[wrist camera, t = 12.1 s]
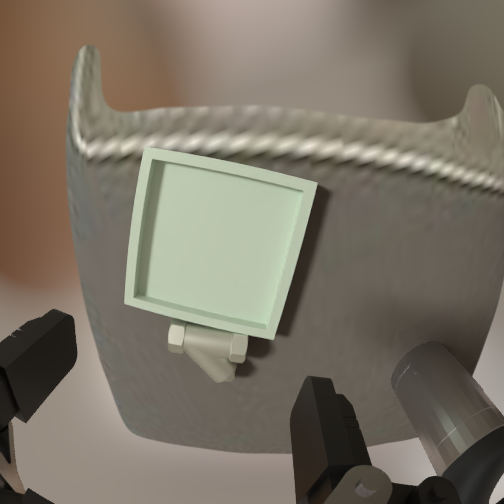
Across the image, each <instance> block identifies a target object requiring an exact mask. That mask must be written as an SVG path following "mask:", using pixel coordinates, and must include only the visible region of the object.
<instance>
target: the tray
mask: <svg viewBox="0 0 504 504" xmlns="http://www.w3.org/2000/svg"><path fill="white" fill-rule="evenodd" d="M317 184H318V183H316V182H313V181H309V180H305V179H301V178H297V177H294V176H290V175H286V174H282V173H277V172H273V171H269V170H265V169H261V168H256V167H252V166H247V165H243V164H238V163H233V162H229V161H224V160H219V159H214V158H208V157H203V156H198V155H192V154H186V153H181V152H175V151H169V150H162V149H156V148H149V147H144V152H143V157H142V162H141V167H140V172H139V178H138V183H137V189H136V196H135V202H134V209H133V216H132V223H131V231H130V240H129V249H128V259H127V271H126V285H125V303H124V304H127V305H131V306H134V307H137V308H141V309H144V310H148V311H151V312H155V313H159V314H162V315H166V316H170V317H173V318H177V319H181V320H185V321H189V322H193V323H197V324H201V325H205V326H210V327H214V328H218V329H223V330H227V331H232V332H236V333H241V334H246V335H251V336H256V337H261V338H266V339H271V340H274V337H275V334H276V330H277V327H278V324H279V321H280V318H281V314H282V311H283V308H284V304H285V301H286V298H287V294H288V291H289V287H290V284H291V281H292V277H293V274H294V270H295V267H296V263H297V260H298V256H299V252H300V249H301V245H302V241H303V238H304V234H305V230H306V227H307V223H308V219H309V215H310V211H311V208H312V204H313V200H314V196H315V192H316V188H317Z"/></svg>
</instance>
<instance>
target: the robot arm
mask: <svg viewBox="0 0 504 504" xmlns="http://www.w3.org/2000/svg"><path fill="white" fill-rule="evenodd" d="M76 359H77V344H76V335H75V323H74V319H73V317H72V316H71V315H69V314H66V313H63V312H61V311H59V310H56V309H52V310H50V311H49V312H48V313H46V314H45V315H44V316H42V317H39V318H36V319H33V320H31V321H28V322H27V323H25V324H24V325H22V326H21V327H20V328H19V329H18V330H16V331H15V332H13V333H12V334H11V336H10V335H9V336H8V337H7V338H6V339H4V340H3V341H1V342H0V504H54V503H52V502H51V501H49V500H47V499H45V498H44V497H42V496H40V495H39V494H37V493H36V492H34V491H32V490H31V489H29V488H28V489H27V491H26V492H25V489H24V486H23V484H22V482H21V480H20V477H19V475H18V472H17V466H16V459H15V449H14V438H13V425H12V422H11V420H12V419H13V417H14V416H15V417H17V418H18V419H20V420H21V421H23V422H25V423H27V421H28V420H29V419H30V418H31V416H32V415H33V414H34V413H35V412H36V410H37V409H38V408H39V406H40V405H41V404H42V403H43V402H44V401H45V399H46V398H47V397H48V396H49V394H50V393H51V392H52V391H53V390H54V389H55V387H56V386H57V385H58V384H59V383H60V381H61V380H62V379H63V378H64V377H65V376H66V375H67V374H68V372H69V371H70V370H71V369H72V368H73V366H74V364H75V362H76ZM391 385H392V388H393V390H394V392H395V393H396V395H397V397H398V399H399V401H400V403H401V405H402V407H403V409H404V411H405V412H406V414H407V416H408V418H409V420H410V422H411V424H412V426H413V428H414V430H415V432H416V433H417V435H418V437H419V439H420V441H421V443H422V445H423V447H424V449H425V451H426V453H427V455H428V457H429V460H430V462H431V463H432V466H433V468H434V470H435V471H436V474H437V476H432V477H428V478H426V479H425V480H424V481H423V482H422V483H421V484H419V485H418V486H413V485H404V484H398V483H393V482H391V480H390V478H389V477H388V475H387V474H386V473H385V472H383V471H382V470H381V469H379V468H376V467H374V466H372V464H371V461H370V458H369V454H368V451H367V448H366V445H365V442H364V439H363V436H362V433H361V430H360V429H359V424H358V421H357V419H356V415H355V412H354V409H353V406H352V404H351V403H350V402H349V401H348V400H347V399H346V397H345V396H344V395H343V394H336V392H335V389H334V386H333V382H332V380H331V379H330V378H323V377H315V376H307V377H306V379H305V381H304V383H303V385H302V388H301V390H300V392H299V395H298V397H297V399H296V402H295V404H294V406H293V409H292V412H291V417H290V431H291V443H292V454H293V467H294V479H295V493H296V504H489V499H490V496H491V494H492V492H493V490H494V488H495V486H496V484H497V482H498V481H499V479H500V478H501V476H502V475H503V473H504V416H503V415H502V414H501V412H500V411H499V410H498V409H497V408H496V406H495V405H494V404H493V403H492V401H491V400H490V399H489V398H488V397H487V396H486V394H485V393H484V391H483V389H482V388H481V386H480V385H479V384H478V383H477V382H476V380H475V379H474V378H473V377H472V376H471V375H470V374H469V372H468V371H467V370H466V369H465V368H464V367H463V366H462V364H461V363H460V362H459V361H458V360H457V359H456V358H455V357H454V356H453V354H452V353H450V352H449V351H448V350H447V349H446V348H445V347H444V346H443V345H442V344H440V343H438V342H428V343H424V344H421V345H419V346H417V347H416V348H414V349H413V350H411V351H410V352H408V353H407V354H406V355H405V356H404V357H403V358H402V359H401V360H400V362H399V363H398V364H397V366H396V368H395V369H394V372H393V374H392V378H391ZM496 504H504V498H502V499H501V500H500V501H499V502H497V503H496Z"/></svg>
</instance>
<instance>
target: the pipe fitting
mask: <svg viewBox="0 0 504 504" xmlns="http://www.w3.org/2000/svg"><path fill="white" fill-rule="evenodd" d="M247 346H248V335H246V334H241V333H236V332H232V331H227V330H223V329H218V328H214V327H210V326H205V325H201V324H197V323H193V322H189V321H185V320H181V319H177V318H173V319H172V322H171V325H170V329H169V335H168V349H169V351H170V352H174V353H180V354H182V353H183V352H187V354H188V355H189V356H190V357H191V358H192V359H193V360H194V361H195V362H196V363H197V364H198V365H199V366H200V367H201V368H202V369H203V370H204V371H205V372H206V373H207V374H208V375H209V376H210V377H211V378H212V379H213V380H214V381H215V382H222V381H232V380H234V379H235V370H236V368H237V363H243V362H244V361H245V357H246V352H247Z"/></svg>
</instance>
